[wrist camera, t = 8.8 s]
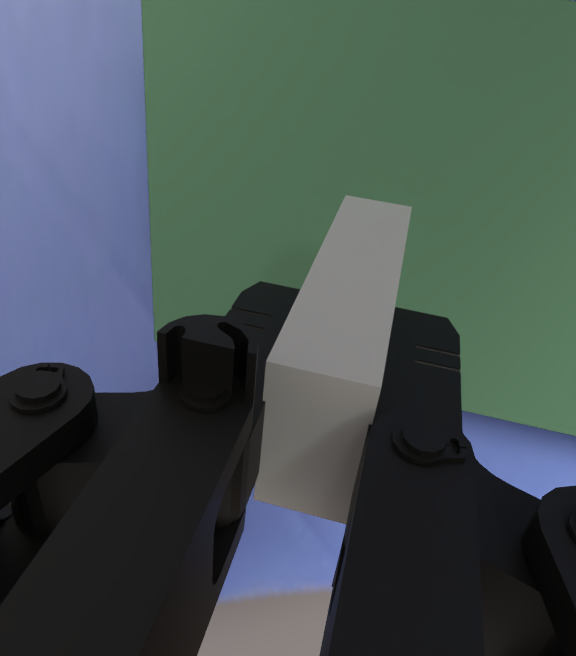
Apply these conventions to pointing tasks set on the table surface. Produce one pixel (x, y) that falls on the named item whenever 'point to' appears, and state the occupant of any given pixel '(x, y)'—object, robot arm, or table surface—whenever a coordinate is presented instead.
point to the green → (377, 167)
